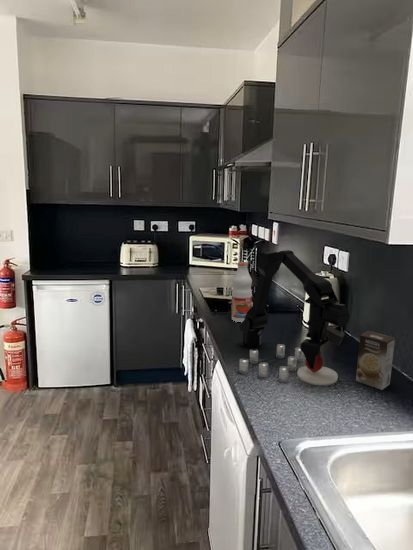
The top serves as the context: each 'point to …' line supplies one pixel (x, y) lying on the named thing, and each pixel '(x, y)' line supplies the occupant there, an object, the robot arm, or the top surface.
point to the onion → (316, 364)
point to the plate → (317, 376)
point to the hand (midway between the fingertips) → (314, 363)
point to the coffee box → (375, 359)
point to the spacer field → (264, 366)
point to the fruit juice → (241, 293)
